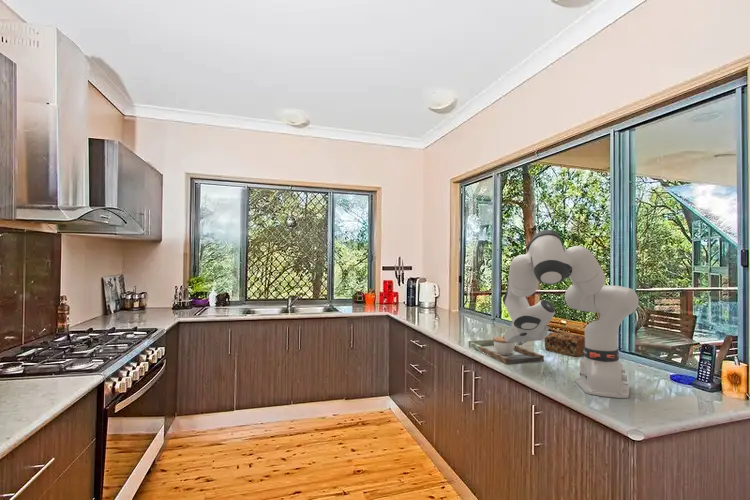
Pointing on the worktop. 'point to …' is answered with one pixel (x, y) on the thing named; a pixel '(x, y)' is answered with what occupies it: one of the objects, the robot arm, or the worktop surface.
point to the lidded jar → (503, 346)
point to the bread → (565, 344)
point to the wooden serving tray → (525, 358)
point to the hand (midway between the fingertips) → (518, 344)
